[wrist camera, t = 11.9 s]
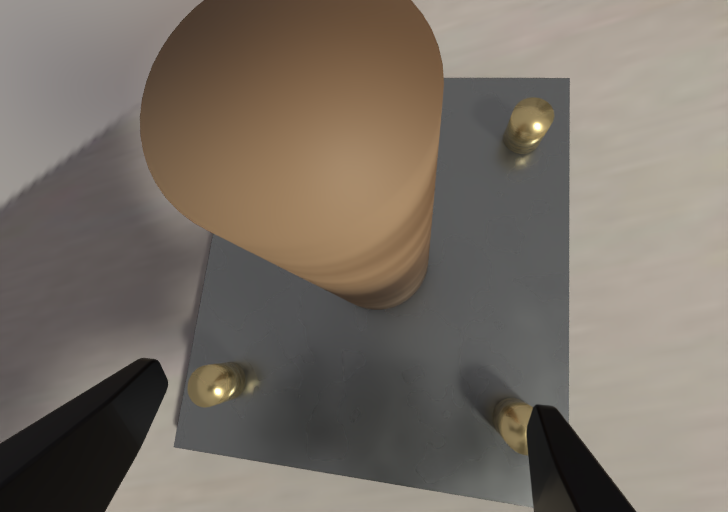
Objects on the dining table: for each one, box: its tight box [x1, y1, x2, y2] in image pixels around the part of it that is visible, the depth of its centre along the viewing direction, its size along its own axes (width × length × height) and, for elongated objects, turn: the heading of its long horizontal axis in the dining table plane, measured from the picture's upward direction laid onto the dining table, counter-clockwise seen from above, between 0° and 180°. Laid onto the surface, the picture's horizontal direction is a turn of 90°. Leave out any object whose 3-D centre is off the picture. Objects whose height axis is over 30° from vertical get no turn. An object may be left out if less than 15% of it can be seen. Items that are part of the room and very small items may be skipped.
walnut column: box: [140, 0, 444, 310], centre depth 11 cm, size 4×4×12 cm
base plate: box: [174, 78, 570, 508], centre depth 17 cm, size 18×16×3 cm
